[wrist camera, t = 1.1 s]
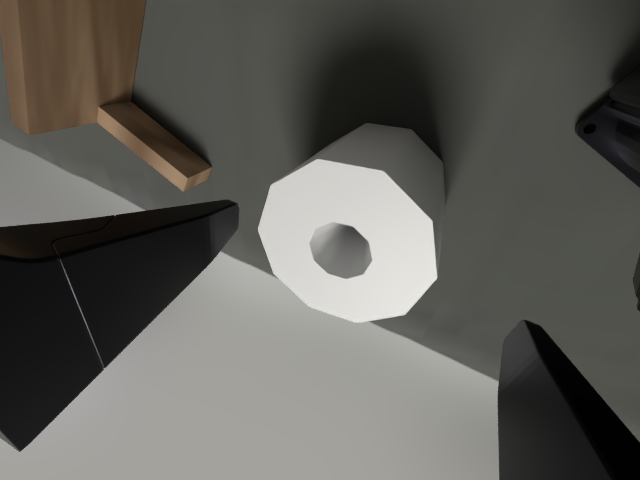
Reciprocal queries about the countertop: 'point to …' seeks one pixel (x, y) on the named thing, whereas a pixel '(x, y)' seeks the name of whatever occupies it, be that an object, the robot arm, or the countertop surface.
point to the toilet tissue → (359, 224)
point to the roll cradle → (86, 77)
